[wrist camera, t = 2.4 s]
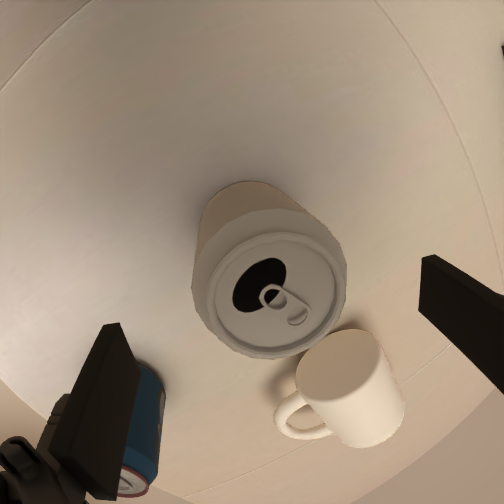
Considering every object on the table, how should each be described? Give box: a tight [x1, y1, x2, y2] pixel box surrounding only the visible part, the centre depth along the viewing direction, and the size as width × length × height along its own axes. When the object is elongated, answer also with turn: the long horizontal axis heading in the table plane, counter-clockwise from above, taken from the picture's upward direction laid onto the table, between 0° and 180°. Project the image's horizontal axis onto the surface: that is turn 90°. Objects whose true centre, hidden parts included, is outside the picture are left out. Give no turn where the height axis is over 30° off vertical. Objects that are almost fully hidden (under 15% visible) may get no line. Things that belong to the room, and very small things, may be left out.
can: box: [191, 181, 347, 359], centre depth 19 cm, size 8×8×12 cm
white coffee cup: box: [274, 329, 405, 448], centre depth 27 cm, size 12×10×8 cm
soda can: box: [117, 363, 166, 498], centre depth 23 cm, size 7×7×12 cm
